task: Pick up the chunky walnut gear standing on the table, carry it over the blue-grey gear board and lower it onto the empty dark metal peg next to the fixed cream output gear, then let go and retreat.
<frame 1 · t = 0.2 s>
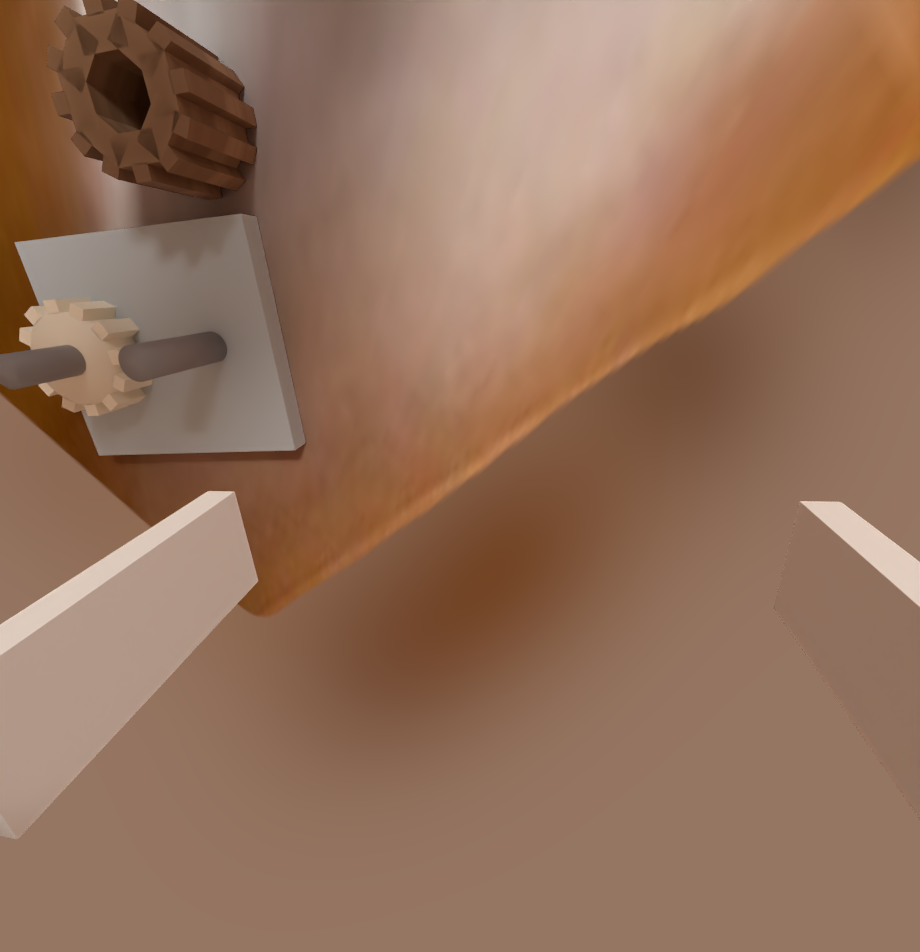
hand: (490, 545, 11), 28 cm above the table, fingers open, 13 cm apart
gear board: (177, 347, 41), on the table
walnut gear: (198, 127, 34), on the table
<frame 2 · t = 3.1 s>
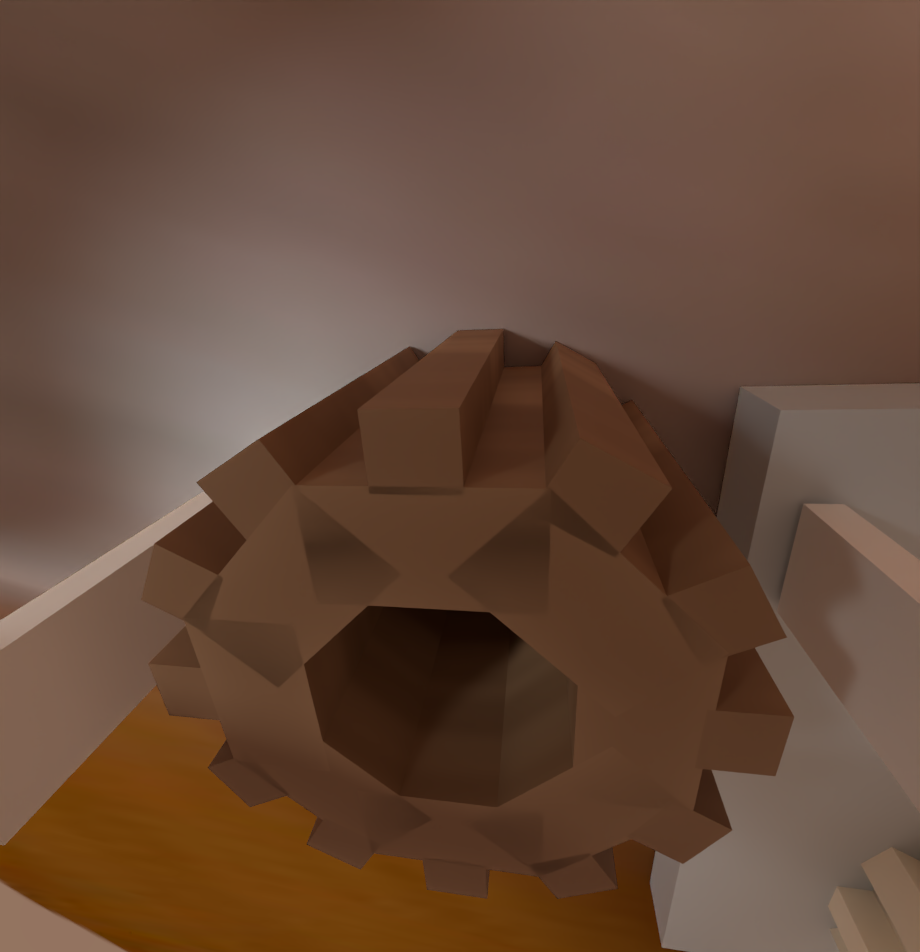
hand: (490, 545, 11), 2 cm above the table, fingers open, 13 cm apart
walnut gear: (486, 498, 13), on the table
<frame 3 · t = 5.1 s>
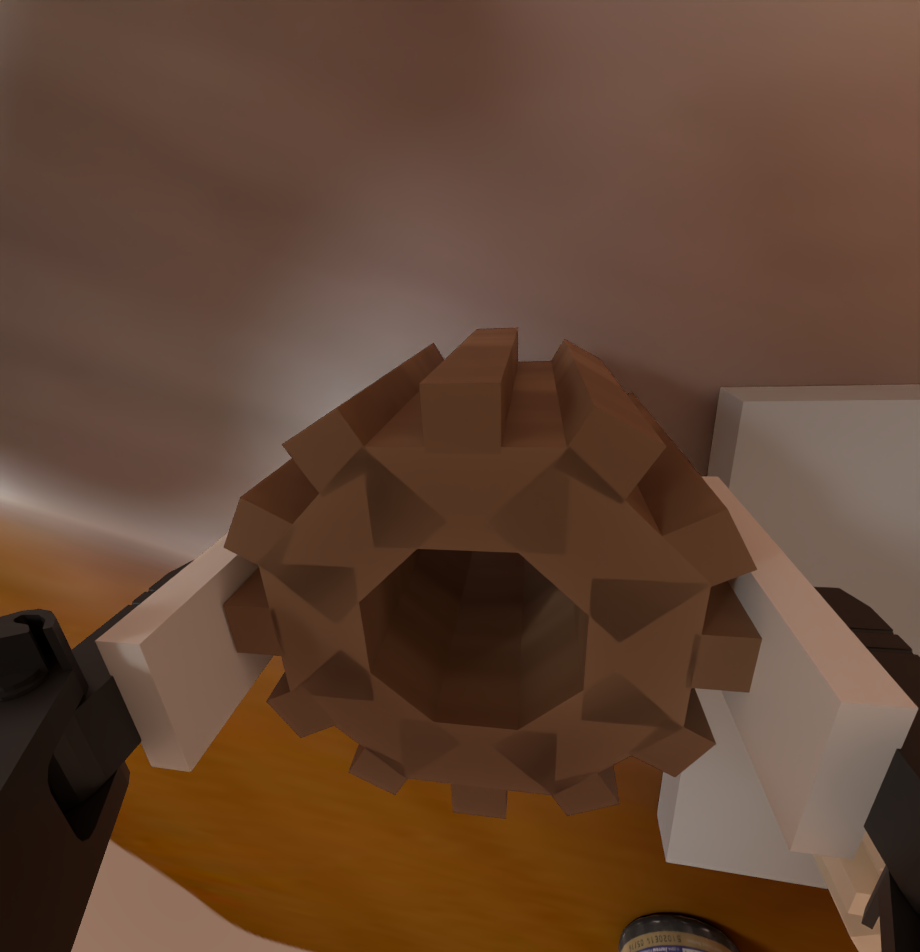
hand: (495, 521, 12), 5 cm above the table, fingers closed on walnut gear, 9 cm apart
walnut gear: (499, 481, 14), point 3 cm above the table, touching gripper
pill bottle: (677, 939, 25), on the table
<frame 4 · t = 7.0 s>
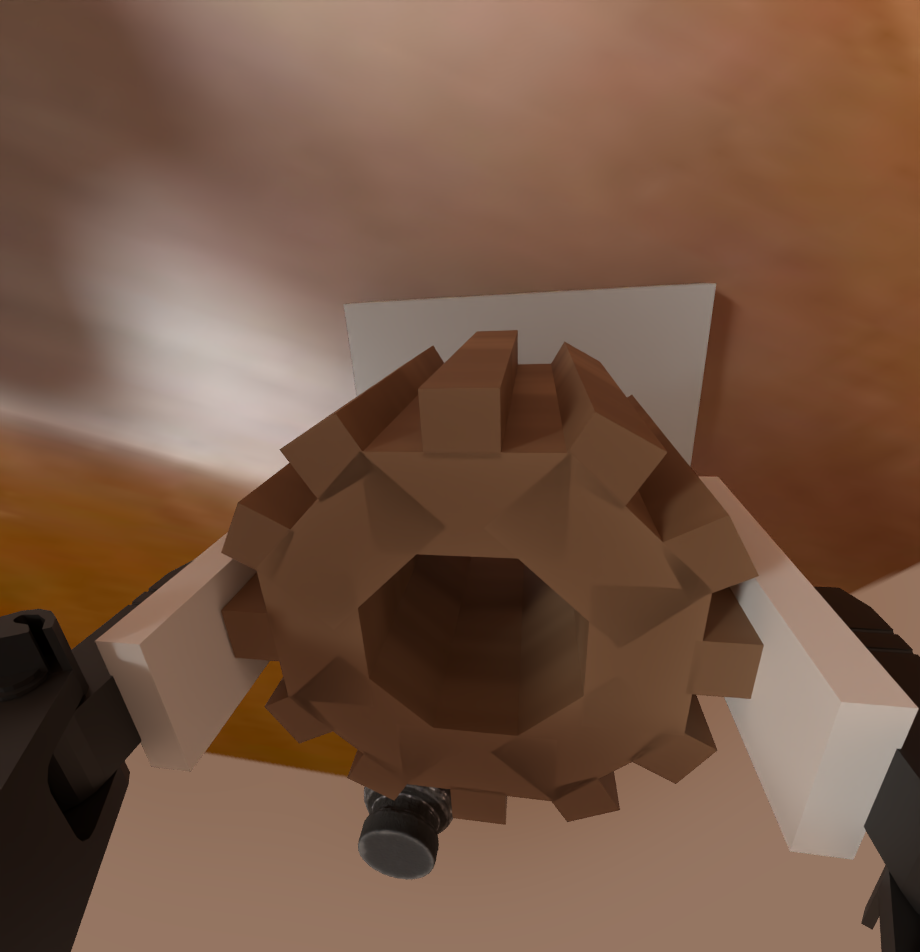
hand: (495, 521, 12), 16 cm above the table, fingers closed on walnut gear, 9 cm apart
gear board: (520, 469, 29), on the table
walnut gear: (499, 484, 14), point 14 cm above the table, touching gripper
pill bottle: (434, 698, 38), on the table
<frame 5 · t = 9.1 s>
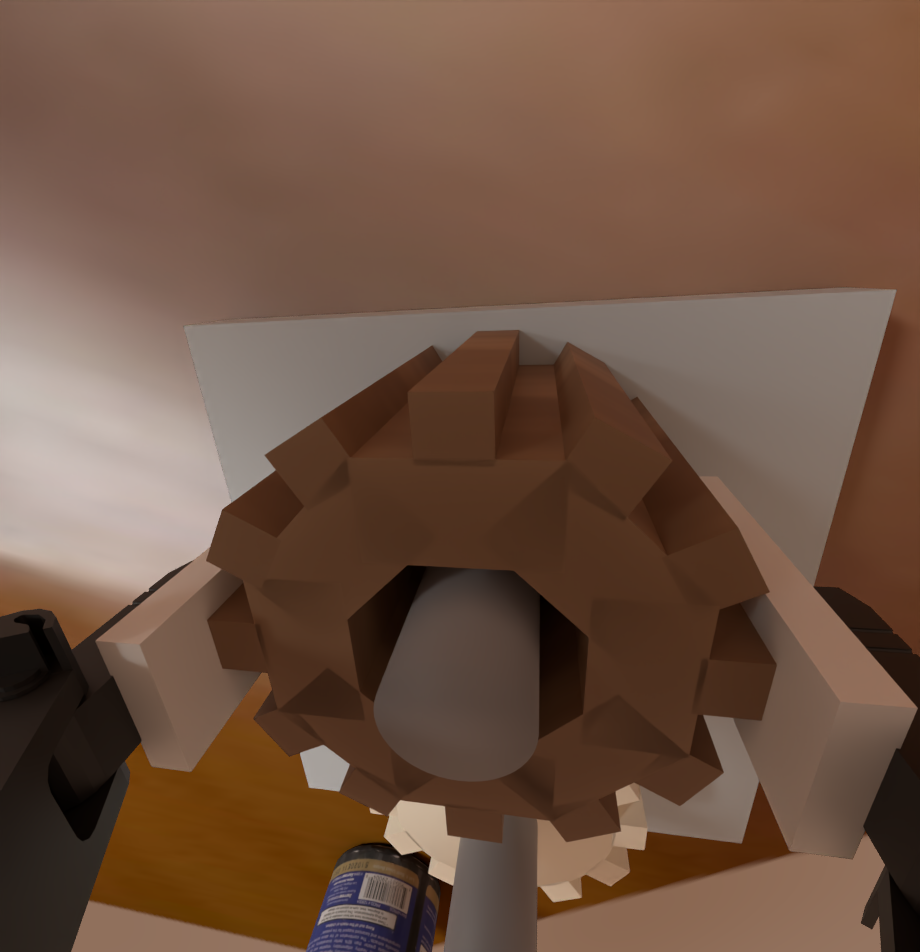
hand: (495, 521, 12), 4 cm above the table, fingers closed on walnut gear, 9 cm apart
gear board: (507, 586, 18), on the table
walnut gear: (500, 488, 14), point 2 cm above the table, touching gear board, gripper
pill bottle: (391, 869, 27), on the table
when the fingers open (4 cm above the table, at t = 10.0 s): walnut gear stays where it is, resting on gear board.
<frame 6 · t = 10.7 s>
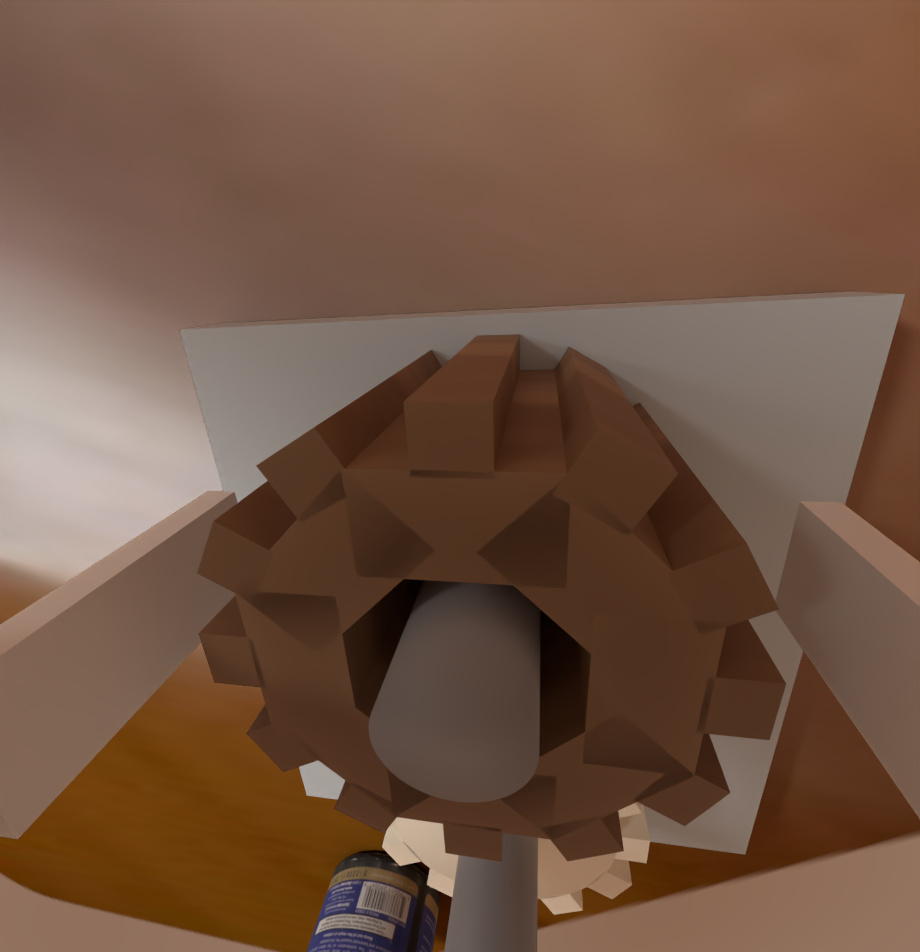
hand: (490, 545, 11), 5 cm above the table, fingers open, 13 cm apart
gear board: (507, 593, 17), on the table
walnut gear: (500, 494, 14), point 2 cm above the table, touching gear board
pill bottle: (390, 877, 27), on the table
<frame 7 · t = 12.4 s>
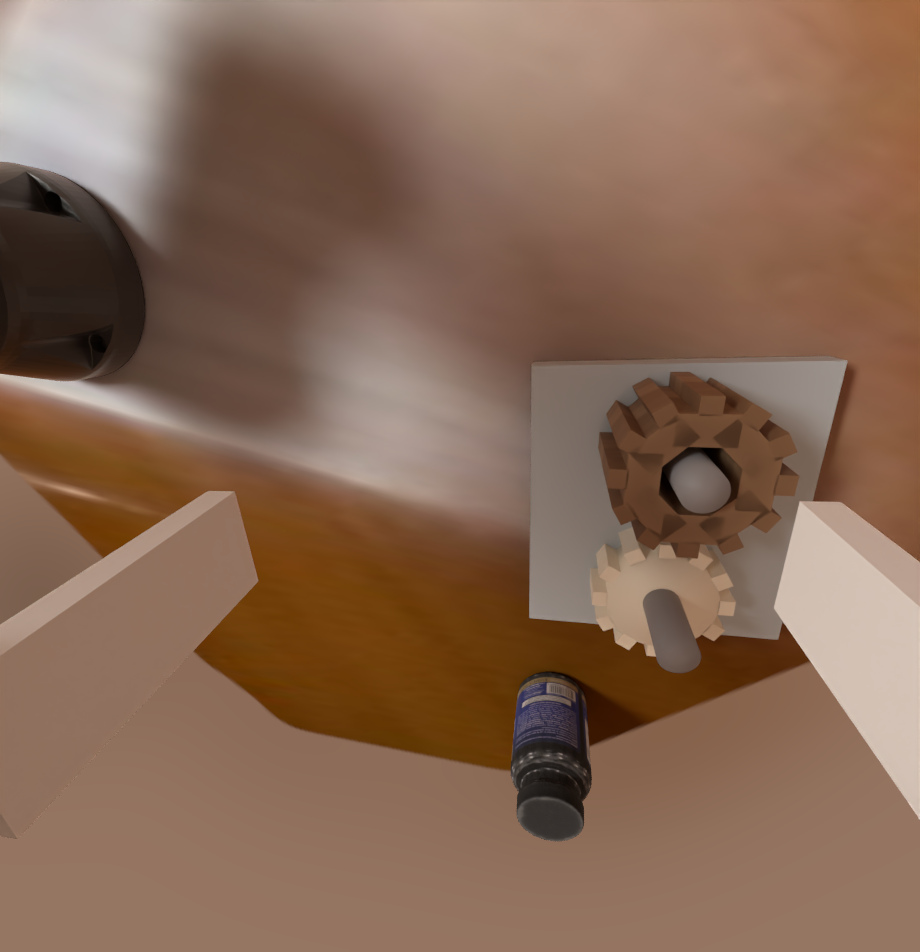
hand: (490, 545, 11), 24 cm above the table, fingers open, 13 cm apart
gear board: (656, 498, 34), on the table
walnut gear: (670, 441, 31), point 2 cm above the table, touching gear board
pill bottle: (551, 693, 43), on the table
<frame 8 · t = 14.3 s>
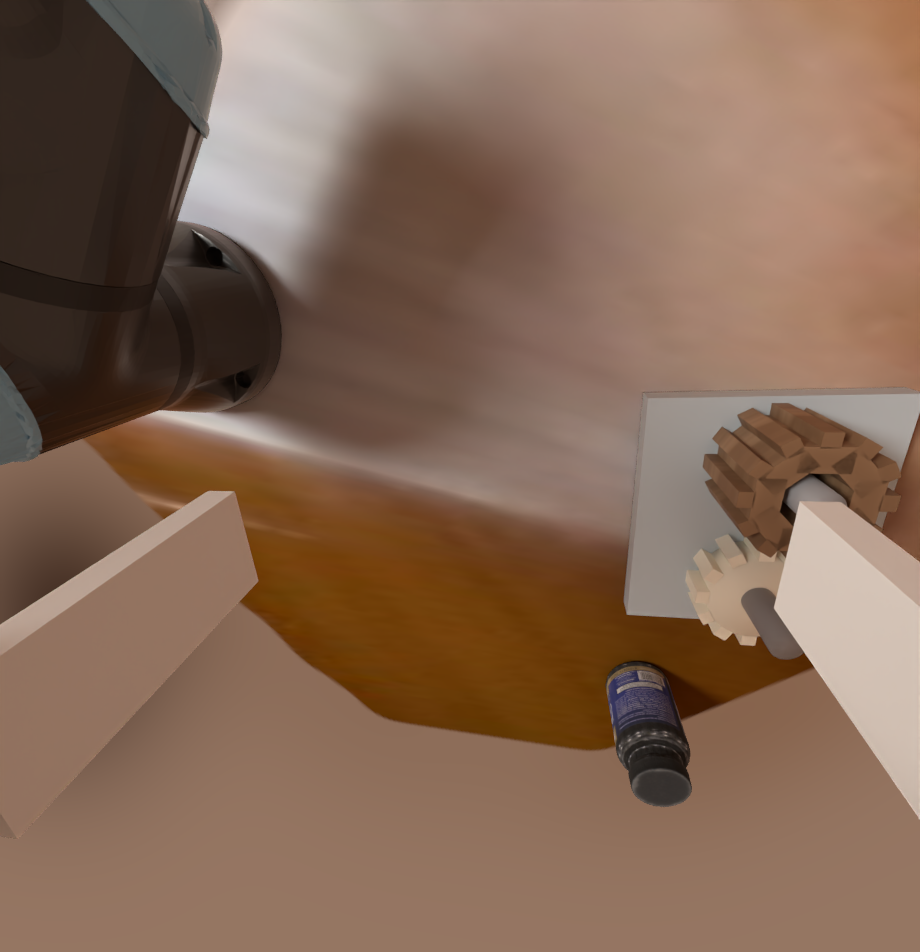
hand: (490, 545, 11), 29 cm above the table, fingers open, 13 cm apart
gear board: (745, 508, 39), on the table
walnut gear: (767, 461, 36), point 2 cm above the table, touching gear board
pill bottle: (636, 680, 48), on the table
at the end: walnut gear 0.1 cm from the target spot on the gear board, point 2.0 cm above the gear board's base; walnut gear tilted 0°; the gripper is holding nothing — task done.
